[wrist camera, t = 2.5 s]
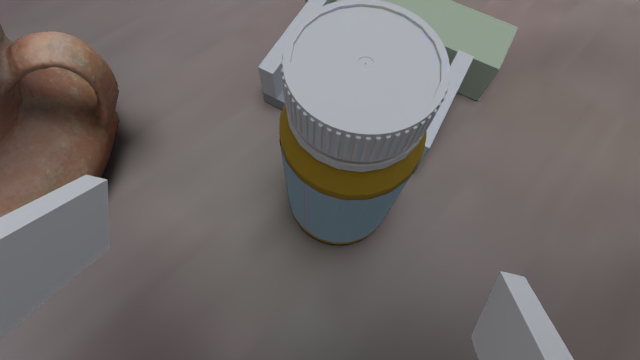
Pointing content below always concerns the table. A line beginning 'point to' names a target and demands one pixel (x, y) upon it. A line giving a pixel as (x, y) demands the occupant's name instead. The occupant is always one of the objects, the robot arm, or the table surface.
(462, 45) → the green-backed grey tray
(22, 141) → the ceramic jug
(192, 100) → the table surface
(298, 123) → the bottle
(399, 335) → the table surface
